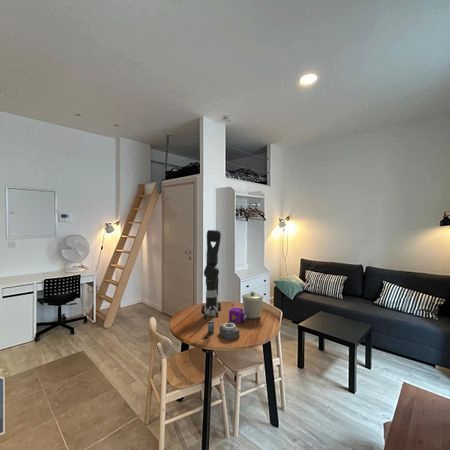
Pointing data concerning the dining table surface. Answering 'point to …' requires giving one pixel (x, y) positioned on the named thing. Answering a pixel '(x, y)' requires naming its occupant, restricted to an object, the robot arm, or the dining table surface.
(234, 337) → the camera body
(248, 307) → the canister
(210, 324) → the lens
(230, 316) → the toy camera
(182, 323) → the dining table surface
